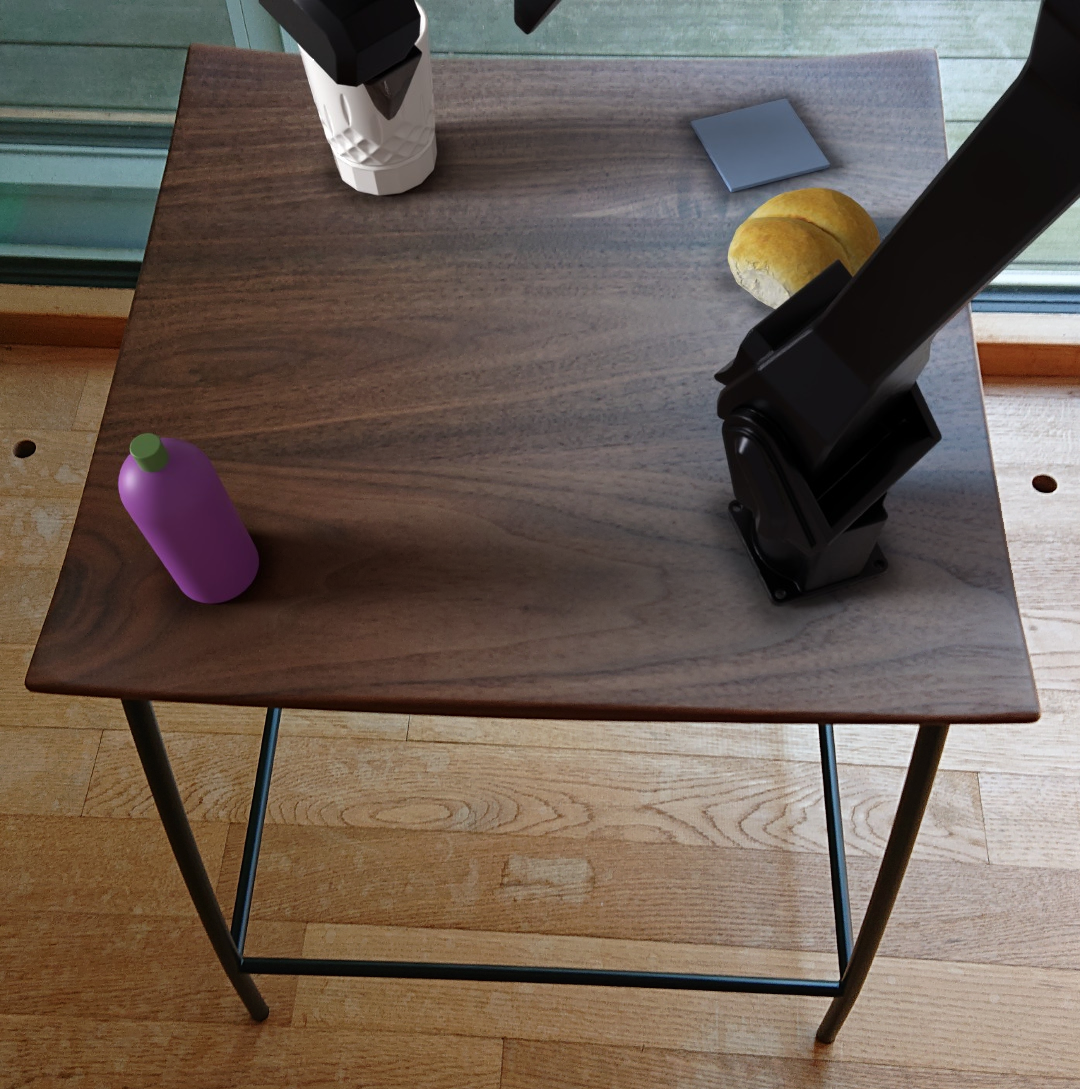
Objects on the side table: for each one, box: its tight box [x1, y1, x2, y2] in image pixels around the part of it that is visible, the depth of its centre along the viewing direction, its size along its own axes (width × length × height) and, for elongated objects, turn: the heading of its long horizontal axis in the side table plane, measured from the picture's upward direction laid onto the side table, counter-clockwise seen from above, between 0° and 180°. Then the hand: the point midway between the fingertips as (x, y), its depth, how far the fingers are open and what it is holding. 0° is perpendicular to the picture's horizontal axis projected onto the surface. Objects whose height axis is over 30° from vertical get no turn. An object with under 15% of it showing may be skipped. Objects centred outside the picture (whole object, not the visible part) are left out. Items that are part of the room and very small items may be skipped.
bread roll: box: [727, 187, 881, 310], centre depth 65 cm, size 8×9×4 cm
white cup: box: [296, 0, 438, 196], centre depth 69 cm, size 8×8×10 cm
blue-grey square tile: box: [690, 98, 831, 193], centre depth 72 cm, size 7×7×1 cm
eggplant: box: [117, 432, 260, 604], centre depth 53 cm, size 4×4×11 cm
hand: (455, 69), depth 54 cm, fingers open, 9 cm apart
